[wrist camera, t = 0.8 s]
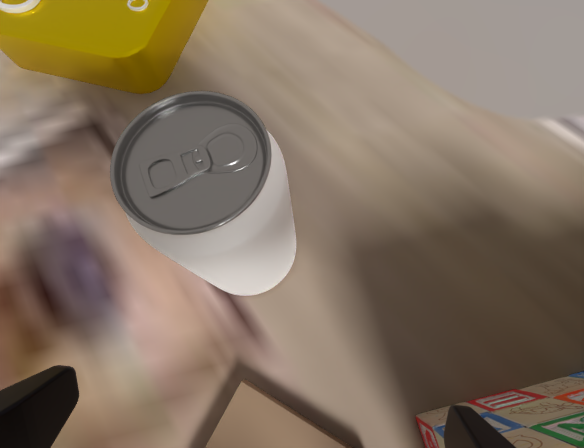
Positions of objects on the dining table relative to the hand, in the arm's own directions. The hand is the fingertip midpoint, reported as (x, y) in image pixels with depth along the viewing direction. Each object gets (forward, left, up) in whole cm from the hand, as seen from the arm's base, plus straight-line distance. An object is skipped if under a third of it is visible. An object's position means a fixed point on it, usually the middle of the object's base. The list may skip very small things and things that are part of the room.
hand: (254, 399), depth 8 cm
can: (+5, +6, -13) cm, 15 cm away
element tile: (+18, +28, -14) cm, 36 cm away
